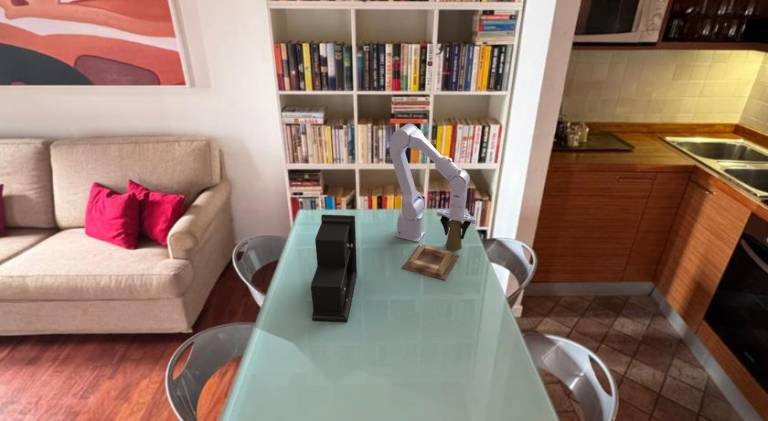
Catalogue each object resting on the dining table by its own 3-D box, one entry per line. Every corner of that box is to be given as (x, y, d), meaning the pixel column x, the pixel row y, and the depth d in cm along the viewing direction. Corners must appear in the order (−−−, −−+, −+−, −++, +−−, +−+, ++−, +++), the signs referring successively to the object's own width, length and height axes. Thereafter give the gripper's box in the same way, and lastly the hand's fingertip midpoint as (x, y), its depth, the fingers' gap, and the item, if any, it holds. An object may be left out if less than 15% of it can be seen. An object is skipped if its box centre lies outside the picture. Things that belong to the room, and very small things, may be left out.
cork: (462, 250, 153) (465, 224, 148) (446, 250, 153) (448, 224, 148) (460, 241, 159) (463, 216, 153) (444, 241, 159) (446, 216, 154)
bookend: (348, 323, 119) (344, 256, 108) (311, 321, 120) (304, 254, 109) (357, 274, 140) (355, 214, 129) (326, 273, 141) (321, 213, 130)
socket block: (401, 268, 143) (401, 262, 142) (418, 245, 156) (418, 240, 155) (445, 280, 137) (445, 274, 136) (459, 256, 150) (459, 250, 148)
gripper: (480, 203, 148) (476, 235, 154) (442, 195, 154) (439, 226, 160) (475, 211, 142) (471, 244, 149) (435, 203, 148) (433, 235, 154)
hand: (454, 235), depth 154 cm, fingers open, 6 cm apart
